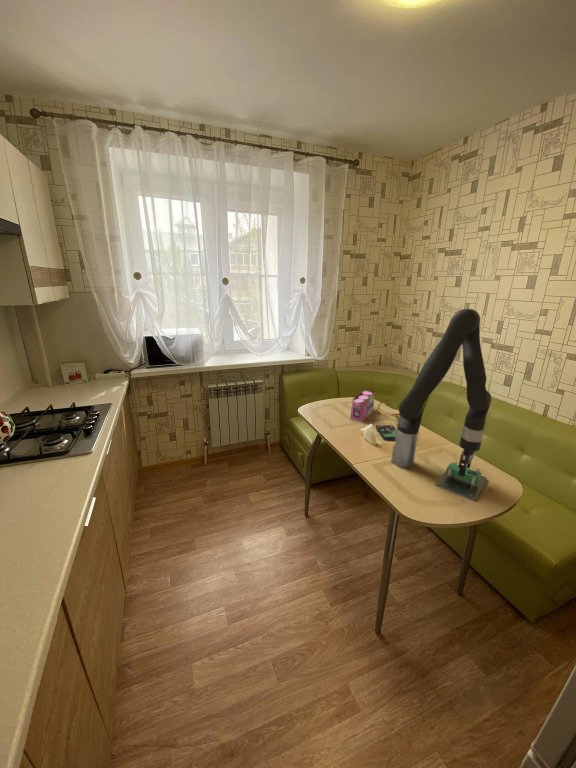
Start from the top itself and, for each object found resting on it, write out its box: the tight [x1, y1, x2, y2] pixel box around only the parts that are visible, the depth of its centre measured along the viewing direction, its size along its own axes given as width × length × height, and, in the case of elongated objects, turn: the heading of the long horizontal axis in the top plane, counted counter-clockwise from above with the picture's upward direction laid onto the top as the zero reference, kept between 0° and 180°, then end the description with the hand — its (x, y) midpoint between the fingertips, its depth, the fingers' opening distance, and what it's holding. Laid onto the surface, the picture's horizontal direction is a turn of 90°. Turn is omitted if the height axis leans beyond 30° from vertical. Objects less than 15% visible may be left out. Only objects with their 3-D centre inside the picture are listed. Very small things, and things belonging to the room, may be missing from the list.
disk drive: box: [375, 424, 397, 441], centre depth 178 cm, size 10×3×15 cm
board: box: [445, 462, 482, 485], centre depth 135 cm, size 12×6×3 cm, turn 48°
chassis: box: [435, 460, 488, 502], centre depth 135 cm, size 15×20×6 cm
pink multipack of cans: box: [349, 389, 376, 423], centre depth 202 cm, size 24×8×14 cm, turn 148°
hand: (464, 471), depth 134 cm, fingers open, 8 cm apart
